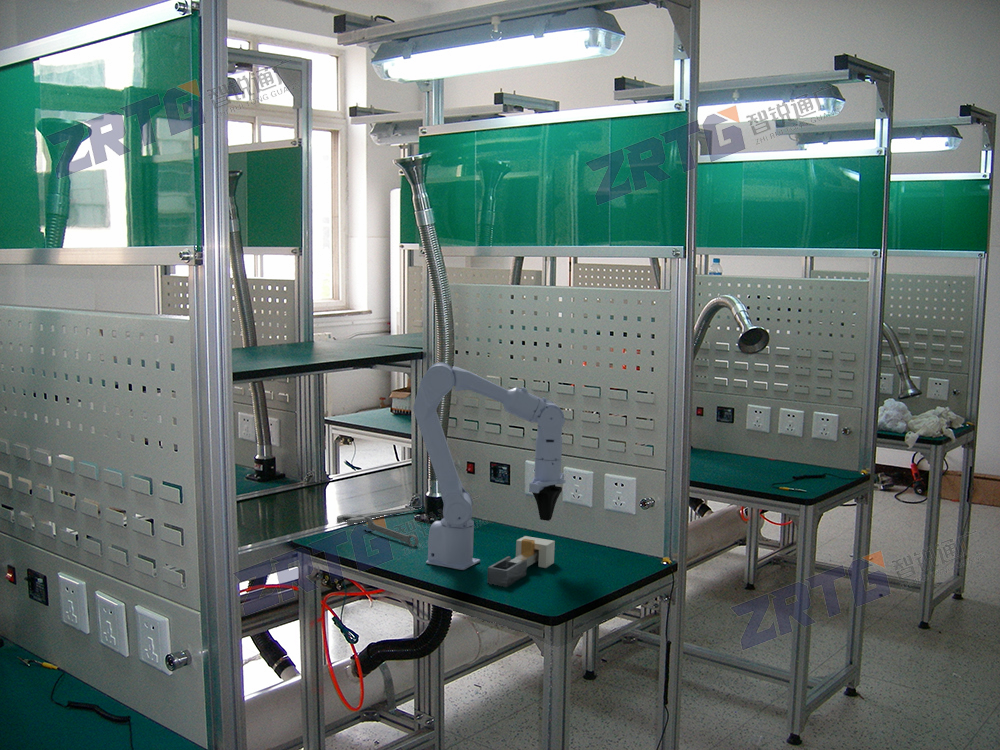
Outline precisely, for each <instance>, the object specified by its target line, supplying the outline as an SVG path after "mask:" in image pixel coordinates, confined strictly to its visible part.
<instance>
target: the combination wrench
mask: <svg viewBox="0 0 1000 750" xmlns="http://www.w3.org/2000/svg"><path fill="white" fill-rule="evenodd" d="M364 518H365V519H366V520H367V521H366V522H367V525H365V524H362V525H363V526H367V528H369V529H371V530H372V531H371V532H373V531H376V532H378V533H381V534H383V535H386V536H389V537H391V538H394V539H396V540H399V541H401V542H404V543H405V544H407V545H408V546H409V547H412V546H413V547H414V546H415V547H417V546H418V544H419V539H418V536H417V535H415V534H404V533H401V532H399V531H396V530H392V529H390V528H387V527H384V526H381V525H379V524H376V523H375V522H374V519H372V518H370V517H364ZM363 526H362V527H363ZM412 538H413V539H414V544H412V542H411V539H412Z"/></svg>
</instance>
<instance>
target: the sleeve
mask: <svg viewBox="0 0 1000 750" xmlns="http://www.w3.org/2000/svg"><path fill="white" fill-rule="evenodd" d="M510 560H512V556H509V555H508V556H506V557H504V558H502V559H500V560H499V561H497V562H495V563H493V564H491V565H489V566H488V567H487V578H486V579H487V581H486V582H487V583H489V584H488V585H492V584H494V586H497V585H498V586H497V587H502V586H503V588H508V587H509V586H511V585H513V584H515V583H516V582H517V581H519V580H521V579H523V578H524V577H526V576H527V569H528V567H527V559H524V560H522V561H520V562H518V563H517V564H515V565H513V566H511V567H510V568H508V561H510ZM487 583H486V584H487Z"/></svg>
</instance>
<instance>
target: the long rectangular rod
mask: <svg viewBox="0 0 1000 750" xmlns="http://www.w3.org/2000/svg"><path fill="white" fill-rule="evenodd" d="M534 546H535V540H529V539H523V540H522V544H521V555H519V556H517V557H516V556H515V557H514V558H511V560H510V561H508V568H510V567H511V566H513V565H515V564H517V563H518V562H520V561H522V560H524V559H527V568H528V567H530V566H531V565H533V564H535V563H537V562H538V560H539V550H538V549H534Z"/></svg>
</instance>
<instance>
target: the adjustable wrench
mask: <svg viewBox="0 0 1000 750" xmlns="http://www.w3.org/2000/svg"><path fill="white" fill-rule="evenodd" d="M413 507H414V506H411V507H404V508H396V509H390V510H389V509H388V510H384V511H383V510H382V511H377V512H370V513H369V512H368V513H359V514H358V513H351V514H349V513H348V514H340V515H337V516H336V523H337V524H339V523H341V522H345V521H344V520H347V521H346V522H347V523H346V525H347V524H354V523H360V522H362V521H363V522H364V521H366V522H368V521H367V520H366V519H365V518H364V517H370V518H376V517H380V516H384V515H390V514H396V513H403V512H408V511H414V510H418V509H415V508H413ZM421 508H422V507H421ZM421 508H419V509H421ZM410 509H411V510H410Z"/></svg>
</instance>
